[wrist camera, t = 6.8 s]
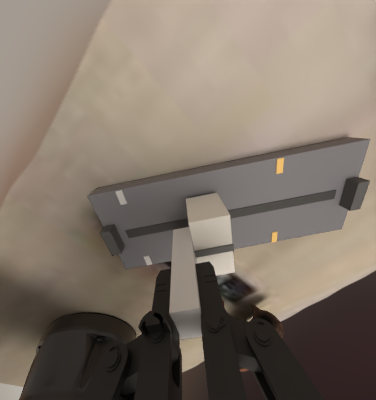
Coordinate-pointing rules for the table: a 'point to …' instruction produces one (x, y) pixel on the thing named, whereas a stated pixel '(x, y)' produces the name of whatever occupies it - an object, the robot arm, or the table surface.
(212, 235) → the fader
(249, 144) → the table surface
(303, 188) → the grey slotted slider track
